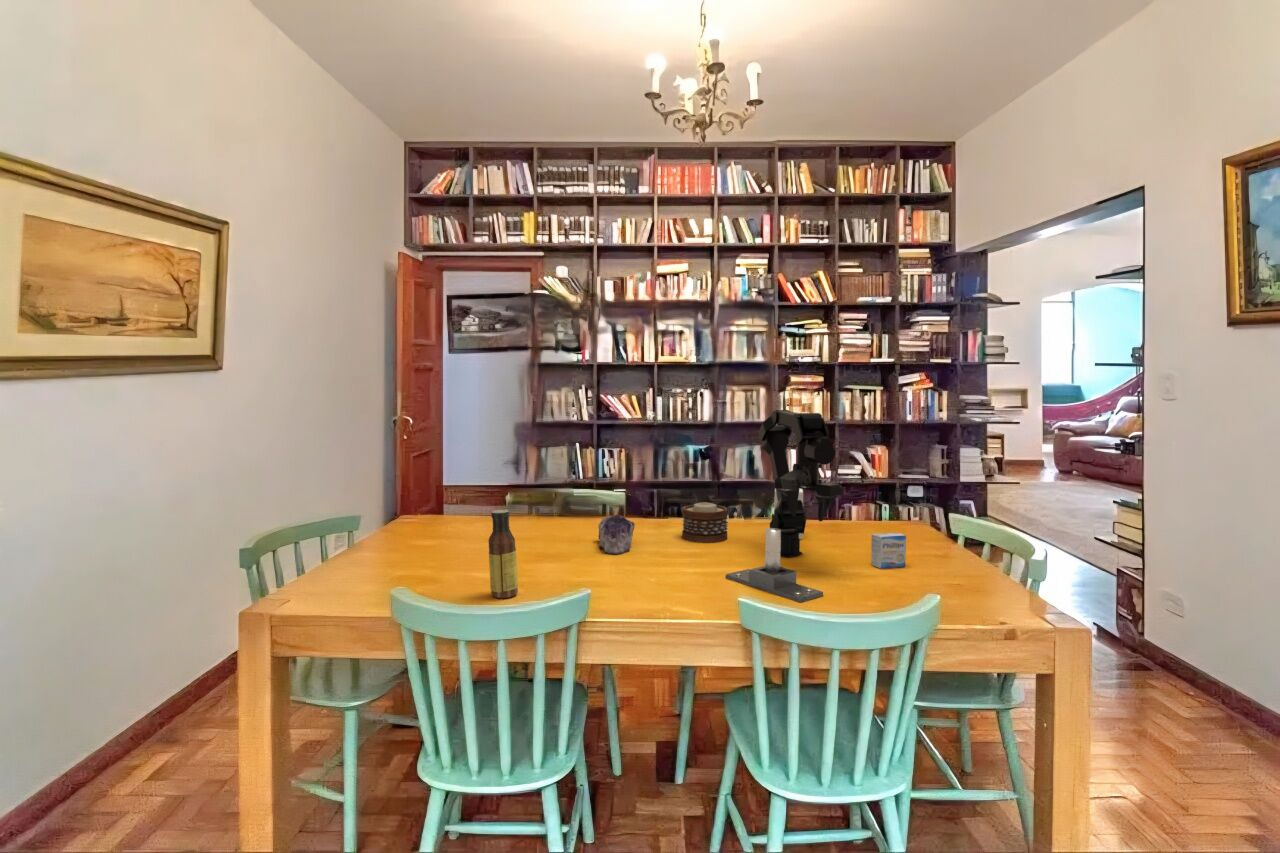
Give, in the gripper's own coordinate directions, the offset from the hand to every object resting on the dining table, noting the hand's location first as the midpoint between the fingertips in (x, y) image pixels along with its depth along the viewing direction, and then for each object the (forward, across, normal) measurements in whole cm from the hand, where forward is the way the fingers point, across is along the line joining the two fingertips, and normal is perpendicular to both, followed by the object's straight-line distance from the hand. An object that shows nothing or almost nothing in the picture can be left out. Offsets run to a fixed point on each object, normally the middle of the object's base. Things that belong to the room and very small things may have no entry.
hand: (806, 518), depth 188 cm
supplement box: (+13, -27, +24) cm, 38 cm away
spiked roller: (+13, -41, +1) cm, 43 cm away
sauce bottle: (+13, -26, -76) cm, 81 cm away
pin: (+13, +7, -21) cm, 26 cm away
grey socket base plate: (+13, +7, -21) cm, 26 cm away
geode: (+13, -48, -28) cm, 57 cm away
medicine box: (+13, +13, +18) cm, 26 cm away
